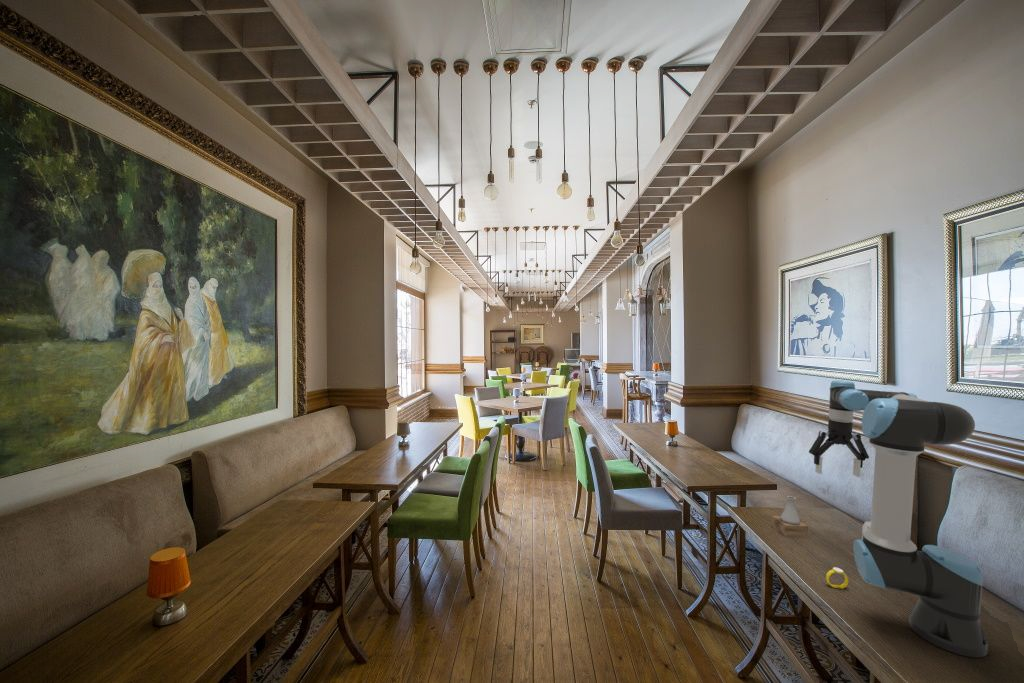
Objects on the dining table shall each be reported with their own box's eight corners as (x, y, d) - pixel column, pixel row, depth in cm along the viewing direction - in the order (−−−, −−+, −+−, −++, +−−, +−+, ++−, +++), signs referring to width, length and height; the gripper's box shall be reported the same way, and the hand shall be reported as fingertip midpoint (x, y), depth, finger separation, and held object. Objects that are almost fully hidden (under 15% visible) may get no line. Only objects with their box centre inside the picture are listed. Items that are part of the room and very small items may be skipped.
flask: (780, 522, 175) (781, 498, 174) (778, 515, 181) (780, 492, 181) (801, 526, 171) (803, 502, 171) (799, 519, 178) (800, 496, 177)
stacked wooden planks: (807, 538, 172) (807, 526, 172) (784, 537, 172) (785, 525, 172) (792, 527, 181) (793, 516, 181) (771, 527, 181) (772, 515, 181)
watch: (843, 586, 140) (846, 569, 140) (848, 591, 137) (851, 573, 137) (823, 582, 141) (826, 565, 141) (828, 587, 138) (830, 570, 138)
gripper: (868, 420, 168) (865, 473, 168) (800, 416, 171) (797, 468, 172) (882, 424, 160) (879, 480, 161) (811, 420, 164) (808, 474, 164)
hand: (837, 474), depth 166 cm, fingers open, 13 cm apart
